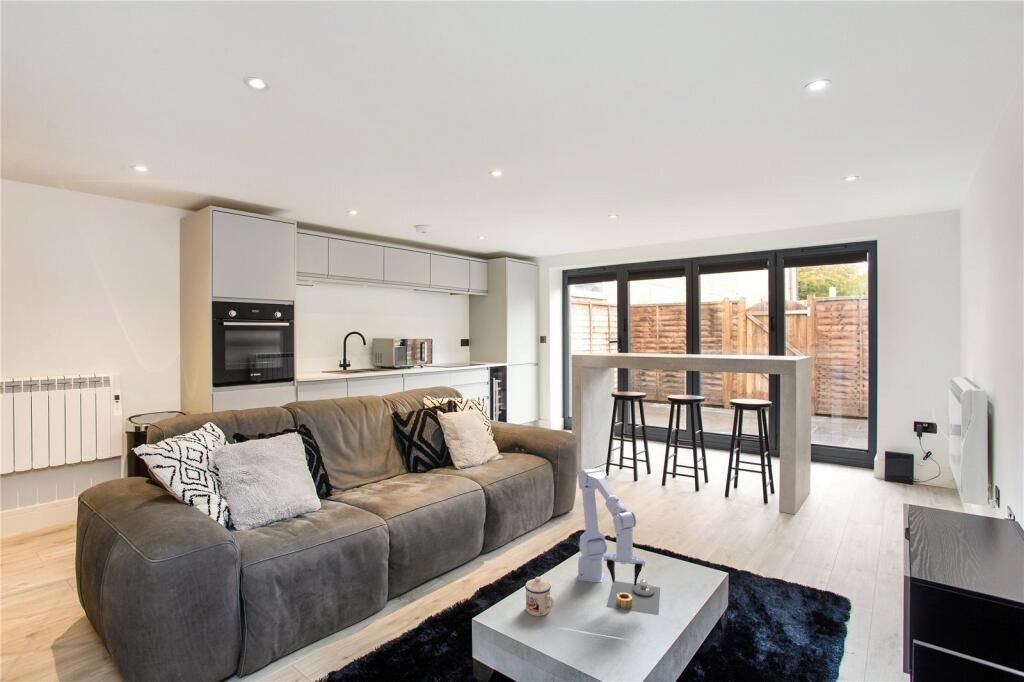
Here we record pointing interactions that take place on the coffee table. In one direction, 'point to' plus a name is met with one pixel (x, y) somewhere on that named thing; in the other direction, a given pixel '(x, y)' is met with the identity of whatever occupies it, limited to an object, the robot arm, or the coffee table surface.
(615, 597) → the bench mat
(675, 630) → the coffee table surface
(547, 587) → the teacup with lid
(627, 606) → the ring
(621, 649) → the coffee table surface
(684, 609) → the coffee table surface
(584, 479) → the robot arm
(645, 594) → the metal peg stand
